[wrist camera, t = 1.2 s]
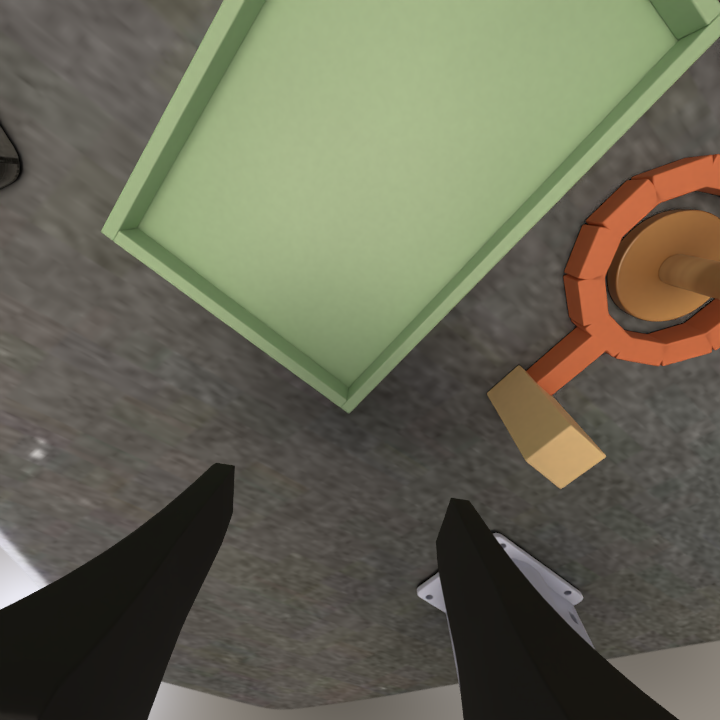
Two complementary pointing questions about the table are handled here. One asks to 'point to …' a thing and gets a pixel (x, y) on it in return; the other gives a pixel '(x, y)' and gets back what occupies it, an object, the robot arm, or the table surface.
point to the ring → (601, 326)
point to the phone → (7, 161)
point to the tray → (383, 159)
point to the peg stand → (667, 265)
